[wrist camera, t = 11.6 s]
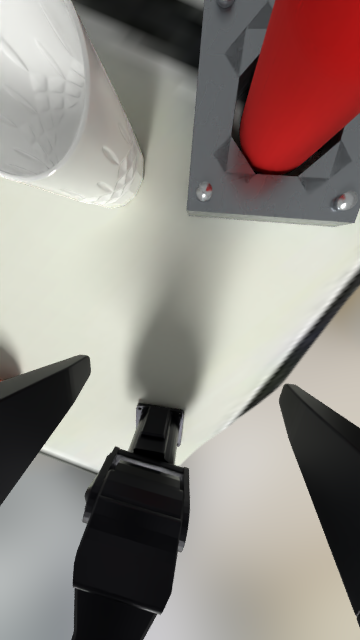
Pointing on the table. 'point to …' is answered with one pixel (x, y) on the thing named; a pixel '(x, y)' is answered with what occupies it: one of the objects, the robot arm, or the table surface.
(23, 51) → the white cup
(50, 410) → the robot arm
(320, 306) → the table surface
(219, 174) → the housing
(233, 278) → the table surface
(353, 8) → the beverage can
